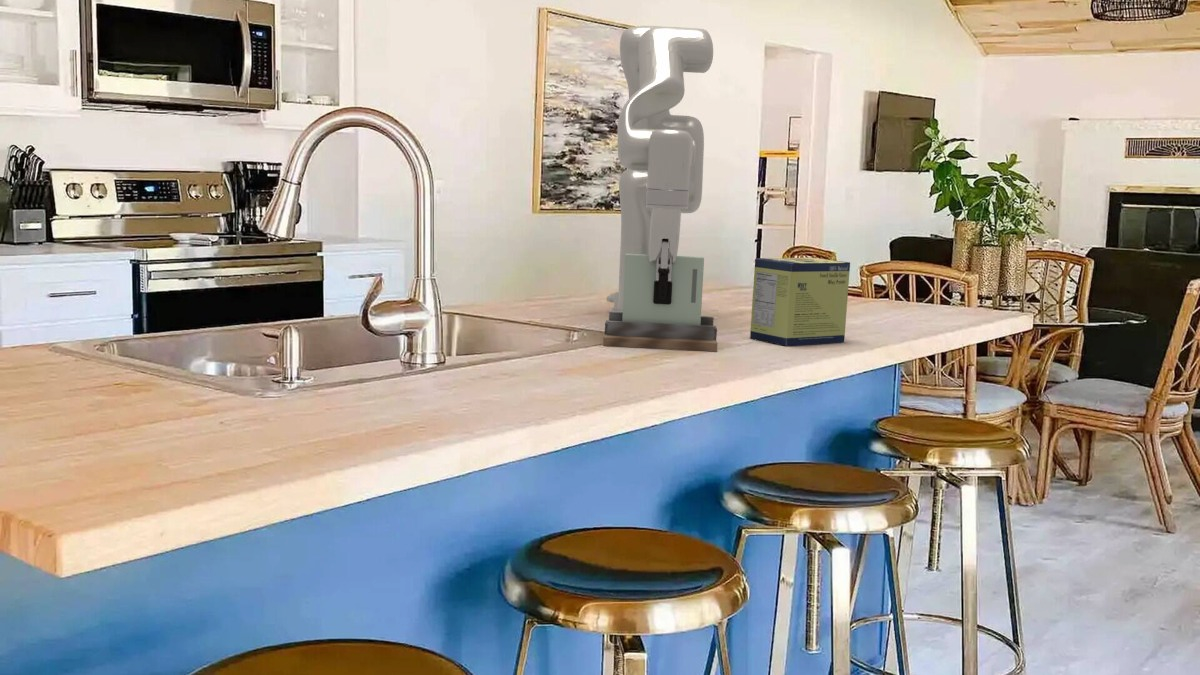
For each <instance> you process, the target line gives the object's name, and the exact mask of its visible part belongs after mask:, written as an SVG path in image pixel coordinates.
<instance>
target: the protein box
mask: <svg viewBox="0 0 1200 675" xmlns="http://www.w3.org/2000/svg"><path fill="white" fill-rule="evenodd" d="M850 268H851V262H848V261H840V260H834V259H826V258H818V257H808V256H807V257H767V258H766V257H758V258H756V257H755V259H754V269H753V270H754V271H753V285H752V286H753V287H752V302H751V305H752V306H751V318H750V320H751V322H750V333H749V334H750V335H749V339H751V340H755V339H756V341H759V342H765V343H771V344H774V345H775V344H776V345H781V346H785V347H792V346H793V347H795V346H809V345H810V346H811V345H825V344H840V343H841V344H843V343H845V336H846V324H847V323H846V322H847V309H848V295H849V294H848V293H849V284H850V271H851V270H850Z"/></svg>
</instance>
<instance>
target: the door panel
mask: <svg viewBox="0 0 1200 675" xmlns="http://www.w3.org/2000/svg"><path fill="white" fill-rule="evenodd" d="M648 260H649V255H646V254H625V272H624V294H623V316H622V321H624V322H644V323H664V324H684V325H701V316H702V304H703V286H704V284H703V283H704V269H705V268H704V265H705V257H704V256H685V255H677V258H676V263H675V264H673V265H672V270H671V282H672V297H671V304H670V305H667V304H654V303H653V296H654V281H656V264H657V258H656V260H655V261H652V264H650V263H649V262H648ZM672 260H673V256H672ZM672 263H673V261H672ZM659 264H661V260H659ZM668 264H670V261H669V260H668Z"/></svg>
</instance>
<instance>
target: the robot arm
mask: <svg viewBox="0 0 1200 675" xmlns="http://www.w3.org/2000/svg"><path fill="white" fill-rule="evenodd" d="M619 54H620V57H619V58H620V62H621V65H622V70H623V73H624V76H625V80H626V83H627V88H628V96H629V97H628V99H627V101H626V102H625V104H624V105H623V107H622V108H621V111H620V113H619V117H618V121H617V156H618V159H619V163H620V165H622V167H624V168H626V169H625V170H624V171H623V172H622V173H621V175H620V177H619V181H618V192H619V193H618V194H619V203H620V205H619V206H620V216H621V217H620V220H621V221H620V223H621V224H620V247H619V248H620V251H619V272H618V291H617V292H611V293H610V295H607V296H606V298H605V299H606V302H608V303H614V304H613V307H611V308H610V311H609V312H623V294H624V272H625V254H646V255H649V260H648V262H649V263H650V264H652V261H655V260H656V258H657V264H656V281H654V296H653V303H654V304H667V305H670V304H671V297H672V282H671V270H672V265H673V264H675V263H676V258H677V256H678V252H679V244H680V234H681V221H682V220H681V217H682V214H692V213H695V212H696V211H698V210H699V208H700V206H701V203H702V196H703V195H702V194H703V180H704V179H703V178H704V175H703V173H704V154H705V153H704V152H705V135H704V133H705V132H704V129H703V125H702V122H701V121H700V119H698V118H697V117H695V116H690V115H679V114H674V115H673V114H671V112H670V110H671V109H673V108H674V107H676V106H678V105H679V104H680V103H681V102H682V101H683V98H684V96H685V79H684V73H692V74H693V73H694V74H695V73H696V74H697V73H698V74H705V73H707V72H708V71H709V70H710V68H711V66H712V63H713V60H714V59H713V58H714V44H713V38H712V36H711V35H710V33H709V31H707V30H706V29H704V28H697V27H676V26H662V25H661V26H658V25H638V26H631V27H628V28H626V29H625V30H624V31H623V32H622V34H621V35H620V41H619ZM672 256H673V260H672ZM659 260H661V264H659ZM668 260H669V261H670V264H668ZM672 261H673V263H672Z"/></svg>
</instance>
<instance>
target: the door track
mask: <svg viewBox="0 0 1200 675" xmlns="http://www.w3.org/2000/svg"><path fill="white" fill-rule="evenodd" d="M622 316H623V312H610V311H609V312H608V320H606V321H605V323H604V335H603V342H602V345H603V347H617V348H618V347H619V348H637V349H639V348H640V349H641V348H642V349H654V350H655V349H659V350H678V351H679V350H681V351H695V352H697V351H699V352H714V353H715V352H716V353H717V351H718V342H717V337H718V336H717V332H718V328H717V325H714V318H715V317H714V316H703V315H701V325H684V324H664V323H644V322H624V321H622Z"/></svg>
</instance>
